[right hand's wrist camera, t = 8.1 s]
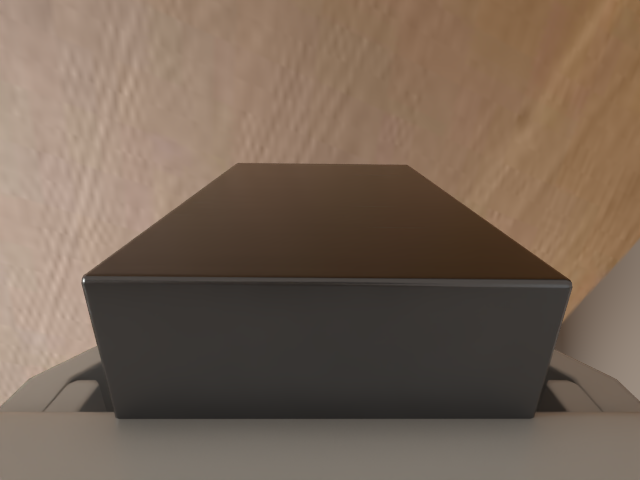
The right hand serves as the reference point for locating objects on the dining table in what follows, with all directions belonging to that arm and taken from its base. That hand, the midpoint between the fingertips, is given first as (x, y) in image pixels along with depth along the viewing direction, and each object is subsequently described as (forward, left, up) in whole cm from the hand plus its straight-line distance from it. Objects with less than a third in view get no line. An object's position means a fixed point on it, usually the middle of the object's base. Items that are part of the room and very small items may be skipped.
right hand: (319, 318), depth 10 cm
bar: (+10, 0, -3) cm, 10 cm away
